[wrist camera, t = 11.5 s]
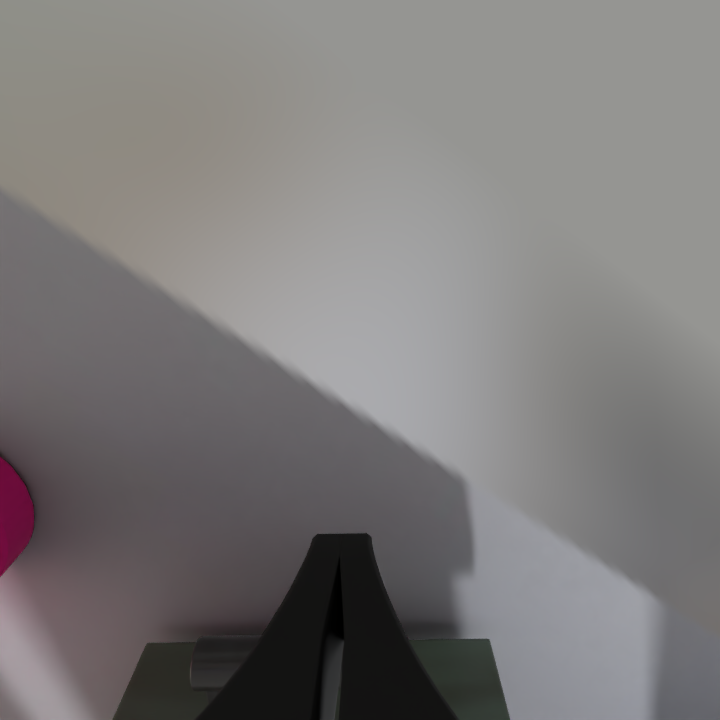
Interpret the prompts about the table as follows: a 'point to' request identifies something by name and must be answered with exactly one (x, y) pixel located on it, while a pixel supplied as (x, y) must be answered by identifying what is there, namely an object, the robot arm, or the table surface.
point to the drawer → (439, 657)
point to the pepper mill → (13, 516)
